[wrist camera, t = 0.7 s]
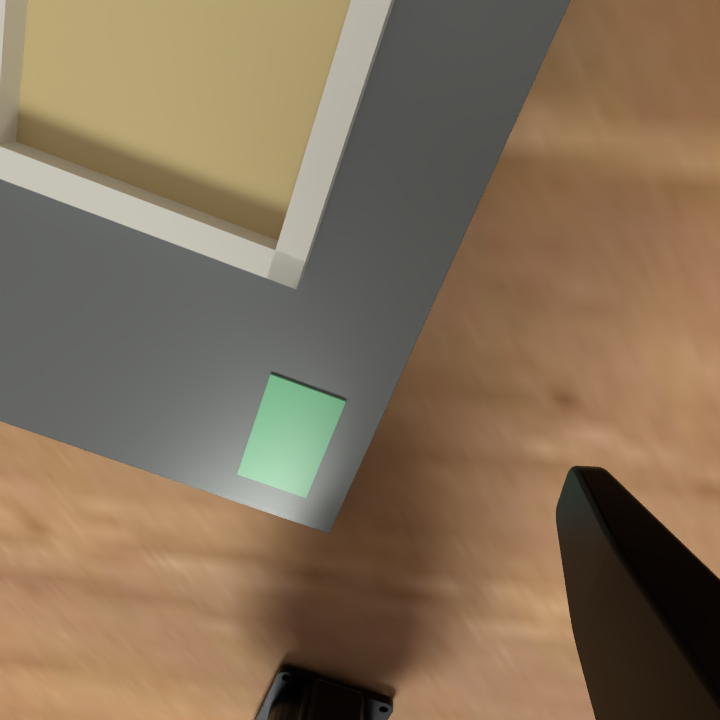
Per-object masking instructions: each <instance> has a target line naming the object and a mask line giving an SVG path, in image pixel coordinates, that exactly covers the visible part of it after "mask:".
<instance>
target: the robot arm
mask: <svg viewBox="0 0 720 720" xmlns="http://www.w3.org/2000/svg"><path fill="white" fill-rule="evenodd" d="M556 524H557V531H558V538H559V545H560V551H561V558H562V565H563V572H564V578H565V585H566V592H567V599H568V605H569V612H570V618H571V624H572V630H573V634H574V638H575V643H576V647H577V651H578V655H579V658H580V662H581V666H582V670H583V673H584V677H585V681H586V685H587V689H588V692H589V696H590V700H591V704H592V707H593V711H594V715H595V719H596V720H720V579H719V578H718V577H717V576H716V575H715V574H714V573H713V572H712V571H711V570H710V569H709V568H708V567H707V566H706V565H704V564H703V563H702V562H701V561H700V560H699V559H698V558H697V557H696V556H695V555H694V554H693V553H692V552H691V551H690V550H689V549H688V548H687V547H686V546H685V545H684V544H683V543H682V542H681V541H680V540H679V539H678V538H676V537H675V536H674V535H673V534H672V533H671V532H670V531H669V530H668V529H667V528H666V527H665V526H664V525H663V524H662V523H661V522H660V521H659V520H658V519H657V518H656V517H655V516H654V515H653V514H652V513H651V512H649V511H648V510H647V509H646V508H645V507H644V506H643V505H642V504H641V503H640V502H639V501H638V500H637V499H636V498H635V497H634V496H633V495H632V494H631V493H630V492H629V491H628V490H627V489H626V488H625V487H624V486H622V485H621V484H620V483H619V482H618V481H617V480H616V479H615V478H614V477H613V476H612V475H611V474H610V473H609V472H608V471H607V470H605V469H603V468H601V467H592V466H574V467H572V468H571V469H570V470H569V472H568V474H567V477H566V480H565V483H564V486H563V489H562V492H561V495H560V498H559V501H558V504H557V508H556ZM392 712H393V701H392V700H391V699H390V698H388V697H386V696H383V695H380V694H376V693H373V692H370V691H367V690H364V689H361V688H358V687H355V686H352V685H349V684H346V683H342V682H339V681H336V680H333V679H330V678H327V677H324V676H321V675H318V674H315V673H312V672H308V671H305V670H302V669H299V668H296V667H293V666H289V665H283V666H281V667H280V668H279V670H278V672H277V674H276V676H275V678H274V680H273V683H272V685H271V687H270V689H269V691H268V693H267V695H266V698H265V700H264V702H263V704H262V706H261V708H260V710H259V713H258V715H257V717H256V719H255V720H388V718H389V717H390V715H391V714H392Z"/></svg>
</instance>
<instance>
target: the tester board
mask: <svg viewBox="0 0 720 720" xmlns="http://www.w3.org/2000/svg"><path fill="white" fill-rule="evenodd" d="M569 2H570V0H0V421H2V422H5V423H8V424H10V425H13V426H16V427H19V428H22V429H25V430H28V431H31V432H34V433H37V434H40V435H43V436H45V437H48V438H51V439H54V440H57V441H60V442H63V443H66V444H69V445H72V446H75V447H78V448H80V449H83V450H86V451H89V452H92V453H95V454H98V455H101V456H104V457H107V458H110V459H113V460H116V461H118V462H121V463H124V464H127V465H130V466H133V467H136V468H139V469H142V470H145V471H148V472H151V473H153V474H156V475H159V476H162V477H165V478H168V479H171V480H174V481H177V482H180V483H183V484H186V485H189V486H191V487H194V488H197V489H200V490H203V491H206V492H209V493H212V494H215V495H218V496H221V497H224V498H226V499H229V500H232V501H235V502H238V503H241V504H244V505H247V506H250V507H253V508H256V509H259V510H262V511H264V512H267V513H270V514H273V515H276V516H279V517H282V518H285V519H288V520H291V521H294V522H297V523H299V524H302V525H305V526H308V527H311V528H314V529H317V530H320V531H323V532H326V533H330V531H331V528H332V526H333V524H334V522H335V520H336V517H337V515H338V513H339V511H340V509H341V506H342V504H343V502H344V500H345V498H346V495H347V493H348V491H349V489H350V486H351V484H352V482H353V480H354V478H355V475H356V473H357V471H358V469H359V467H360V464H361V462H362V460H363V458H364V456H365V453H366V451H367V449H368V447H369V444H370V442H371V440H372V438H373V436H374V433H375V431H376V429H377V427H378V425H379V422H380V420H381V418H382V416H383V414H384V411H385V409H386V407H387V405H388V403H389V400H390V398H391V396H392V394H393V391H394V389H395V387H396V385H397V383H398V380H399V378H400V376H401V374H402V372H403V369H404V367H405V365H406V363H407V361H408V358H409V356H410V354H411V352H412V349H413V347H414V345H415V343H416V341H417V338H418V336H419V334H420V332H421V330H422V327H423V325H424V323H425V321H426V319H427V316H428V314H429V312H430V310H431V307H432V305H433V303H434V301H435V299H436V296H437V294H438V292H439V290H440V288H441V285H442V283H443V281H444V279H445V277H446V274H447V272H448V270H449V268H450V265H451V263H452V261H453V259H454V257H455V254H456V252H457V250H458V248H459V246H460V243H461V241H462V239H463V237H464V235H465V232H466V230H467V228H468V226H469V223H470V221H471V219H472V217H473V215H474V212H475V210H476V208H477V206H478V204H479V201H480V199H481V197H482V195H483V193H484V190H485V188H486V186H487V184H488V181H489V179H490V177H491V175H492V173H493V170H494V168H495V166H496V164H497V162H498V159H499V157H500V155H501V153H502V151H503V148H504V146H505V144H506V142H507V139H508V137H509V135H510V133H511V131H512V128H513V126H514V124H515V122H516V120H517V117H518V115H519V113H520V111H521V109H522V106H523V104H524V102H525V100H526V97H527V95H528V93H529V91H530V89H531V86H532V84H533V82H534V80H535V78H536V75H537V73H538V71H539V69H540V67H541V64H542V62H543V60H544V58H545V56H546V53H547V51H548V49H549V47H550V44H551V42H552V40H553V38H554V36H555V33H556V31H557V29H558V27H559V25H560V22H561V20H562V18H563V16H564V14H565V11H566V9H567V7H568V5H569Z"/></svg>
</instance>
